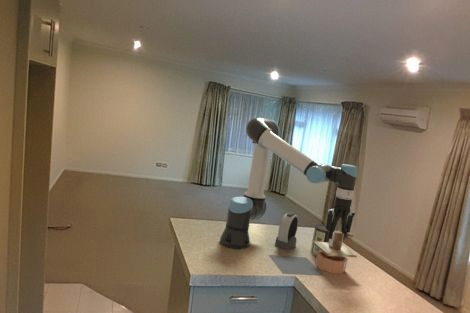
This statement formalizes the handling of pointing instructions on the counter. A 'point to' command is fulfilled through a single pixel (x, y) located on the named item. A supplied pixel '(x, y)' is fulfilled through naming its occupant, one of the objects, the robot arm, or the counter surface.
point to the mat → (295, 265)
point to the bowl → (331, 263)
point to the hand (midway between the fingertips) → (334, 245)
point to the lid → (335, 247)
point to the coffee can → (319, 237)
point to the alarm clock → (287, 231)
